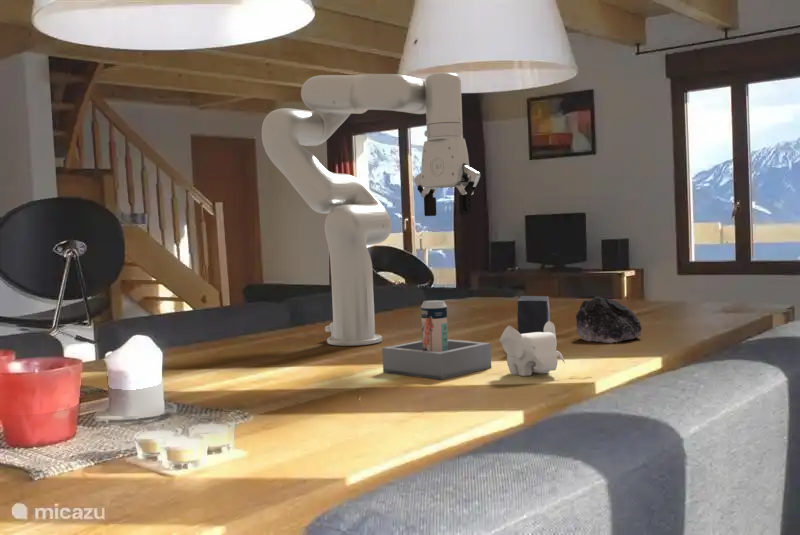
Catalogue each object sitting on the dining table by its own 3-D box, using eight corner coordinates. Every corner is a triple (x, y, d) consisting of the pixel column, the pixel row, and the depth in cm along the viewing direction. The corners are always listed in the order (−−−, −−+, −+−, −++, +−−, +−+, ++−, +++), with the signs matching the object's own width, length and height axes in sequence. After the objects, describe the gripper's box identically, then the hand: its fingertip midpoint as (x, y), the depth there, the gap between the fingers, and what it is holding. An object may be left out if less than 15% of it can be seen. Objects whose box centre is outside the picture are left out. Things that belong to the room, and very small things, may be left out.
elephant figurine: (532, 383, 143) (530, 329, 142) (491, 373, 153) (490, 323, 153) (578, 376, 147) (576, 324, 147) (535, 367, 158) (534, 318, 157)
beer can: (421, 364, 161) (419, 300, 160) (447, 363, 161) (445, 299, 160) (423, 369, 156) (421, 303, 155) (449, 368, 156) (447, 302, 156)
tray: (383, 372, 158) (382, 347, 158) (433, 361, 168) (433, 338, 168) (441, 379, 148) (440, 353, 148) (491, 367, 159) (490, 343, 158)
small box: (549, 351, 176) (547, 299, 175) (517, 351, 177) (515, 300, 176) (551, 343, 186) (549, 294, 185) (520, 343, 187) (518, 295, 187)
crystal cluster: (652, 343, 185) (653, 297, 185) (596, 343, 181) (596, 295, 181) (619, 341, 198) (620, 297, 198) (566, 340, 194) (566, 296, 194)
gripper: (402, 136, 185) (405, 217, 186) (465, 128, 173) (468, 214, 174) (426, 138, 190) (428, 216, 191) (488, 130, 178) (491, 213, 179)
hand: (447, 215), depth 182 cm, fingers open, 9 cm apart
